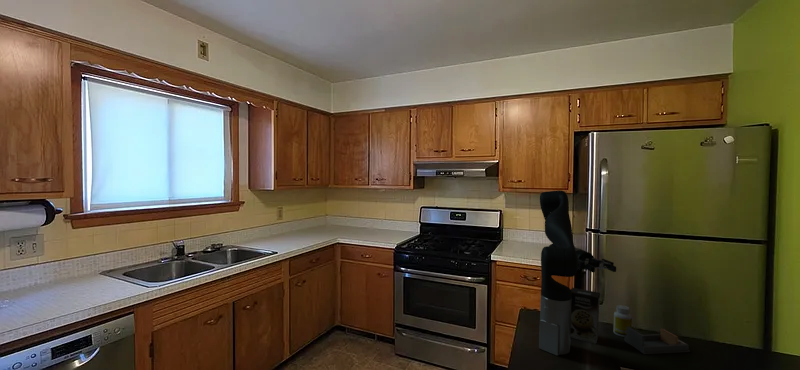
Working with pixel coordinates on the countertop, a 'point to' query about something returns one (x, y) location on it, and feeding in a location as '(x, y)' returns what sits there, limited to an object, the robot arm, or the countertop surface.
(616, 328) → the supplement bottle
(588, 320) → the coffee box
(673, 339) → the pusher
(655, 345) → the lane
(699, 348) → the countertop surface
